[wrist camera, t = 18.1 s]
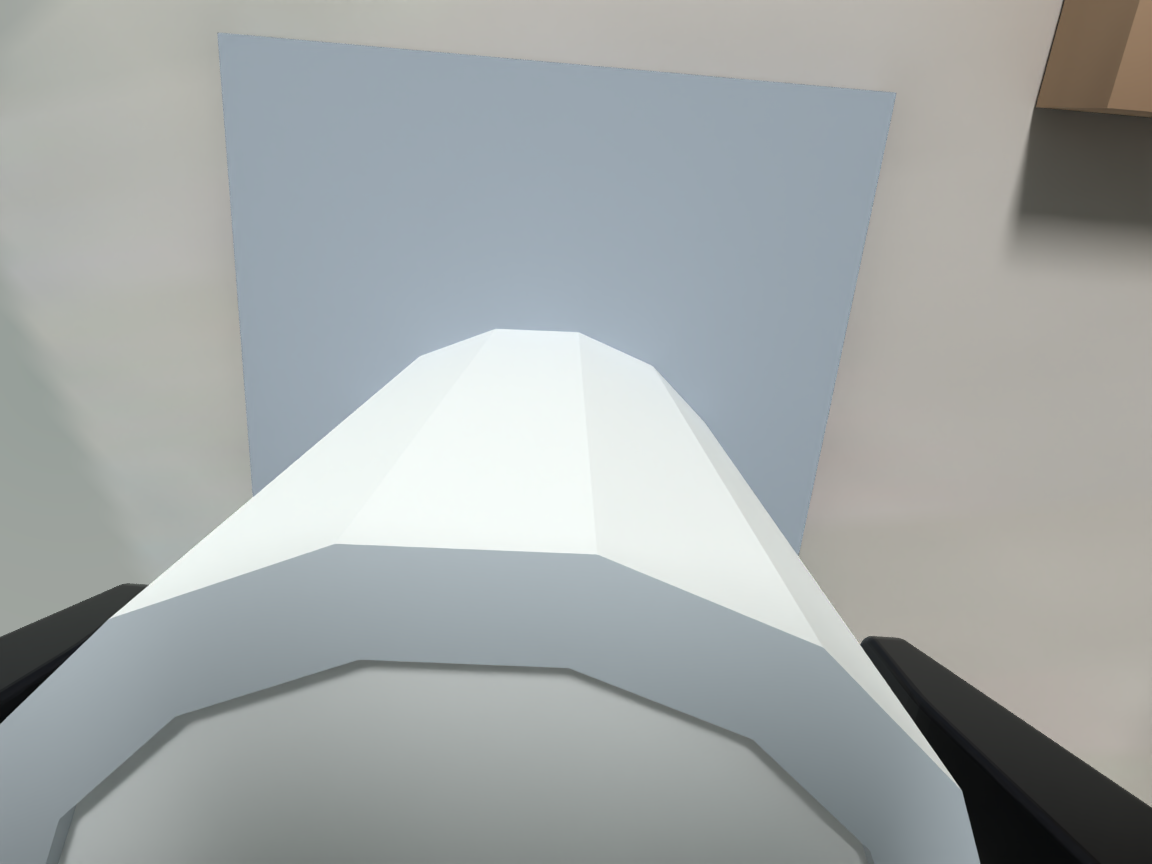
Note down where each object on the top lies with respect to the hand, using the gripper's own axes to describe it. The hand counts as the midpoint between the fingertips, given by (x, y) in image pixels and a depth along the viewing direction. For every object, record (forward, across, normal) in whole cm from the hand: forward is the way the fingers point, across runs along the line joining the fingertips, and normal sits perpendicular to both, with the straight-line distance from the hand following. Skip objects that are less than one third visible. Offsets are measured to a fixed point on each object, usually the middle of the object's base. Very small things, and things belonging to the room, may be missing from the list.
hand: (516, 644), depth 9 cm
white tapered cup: (+3, 0, 0) cm, 3 cm away
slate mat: (+4, 0, 0) cm, 4 cm away
